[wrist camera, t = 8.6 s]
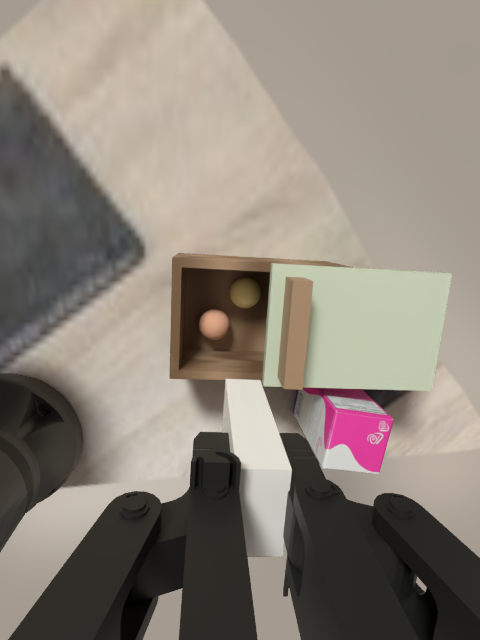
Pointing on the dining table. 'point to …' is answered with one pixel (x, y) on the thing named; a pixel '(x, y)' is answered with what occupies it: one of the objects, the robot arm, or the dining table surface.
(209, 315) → the ball terracotta
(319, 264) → the box
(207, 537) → the robot arm
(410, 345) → the lid
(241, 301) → the ball mustard
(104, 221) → the dining table surface
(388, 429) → the supplement box
